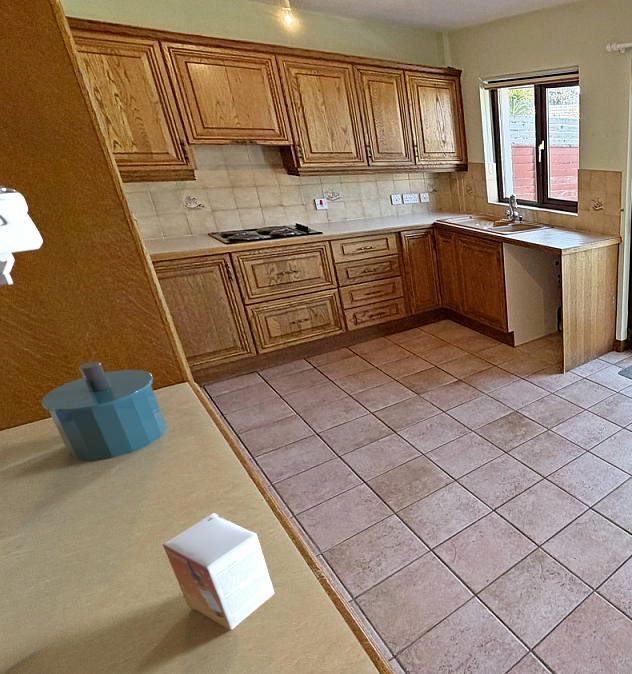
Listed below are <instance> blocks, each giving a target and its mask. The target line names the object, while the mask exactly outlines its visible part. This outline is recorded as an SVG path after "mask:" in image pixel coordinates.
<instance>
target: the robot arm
mask: <svg viewBox="0 0 632 674" xmlns="http://www.w3.org/2000/svg"><path fill="white" fill-rule="evenodd" d="M28 212H29V207H28V205H27V202H26V200H25V197H24V196H23V194H21V193H20V192H19V191H17V190H15V189H14V188H10V187H5V186H4V185H0V287H3V286H4V287H5V286H10V285H14V281H13V278H12V276H11V274H10V273H11V271H12V268H13V266H14V264H15V261H16V260H15V258H14V256H13V253H19V252H20V253H21V252H27V251H34V250H35V251H36V250H39V249H40V248H41V247H42V245H43V242H44V241H43V238H42V236H41V233H40V231H39V230H38V228H37V227H36V225H35V223H34V222H33V221H32V219H31V217H30V216H29V214H28Z"/></svg>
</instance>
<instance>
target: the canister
mask: <svg viewBox="0 0 632 674" xmlns="http://www.w3.org/2000/svg"><path fill="white" fill-rule="evenodd" d="M48 412H49V415H50V416H51V419H52V420H53V422H54V424H55V427H56V428H57V431H58V433H59V435H60V437H61V439H62V441H63V443H64V445H65V448H66V449H67V451H68V453H69V454H70V457H72V458H75V459H76V460H78V461H90V462H93V461H95V462H96V461H102V460H108V459H113V458H118V457H121V456H123V455H128V454H131V453H133V452H136V451H138V450H141V449H142V448H145V447H146V446H150V445H151V444H152V443H153V442H155V441H157V440H158V439H160V438H161V437H162V436H163V435H164V434H165V432H166V431H167V430H168V426H167V422H166V419H165V417H164V414H163V412H162V410H161V406H160V404H159V401H158V399H157V396H156V393H155V391H154V388H153V386H152V384H151V385H150V386H149V387H148V388H147V389H146V390H144V391H143V392H141V393H139V394H137V395H135V396H133V397H131V398H128V399H126V400H123V401H120V402H118V403H114V404H111V405H108V406H104V407H100V408H95V409H90V410H84V411H76V412H54V411H49V410H48Z"/></svg>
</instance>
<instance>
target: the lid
mask: <svg viewBox="0 0 632 674" xmlns="http://www.w3.org/2000/svg"><path fill="white" fill-rule="evenodd" d="M78 369H79V371H80V373H81V376H82V377H81V378H78V379H75V380H72V381H69V382H68V383H64V384H62V385H60V386H57V387H56V388H54V389H52V390H51V391H49V392H48V393H47V394H45V395H44V396H43V397H42V400H41V405H42V407H43V408H44V409H45V410H47V411H48V412H49V411H54V412H76V411H84V410H90V409H95V408H100V407H104V406H108V405H111V404H114V403H118V402H120V401H123V400H126V399H128V398H131V397H133V396H135V395H137V394H139V393H141V392H143V391H144V390H146V389H147V388H148V387H149V386H150V385H152V384H153V382H154V377H153V375H152V373H150V372H149V371H145V370H141V369H140V370H139V369H121V370H112V371H105V370H104V367H103V365H102V363H101V361H90V362H86V363H83V364H80V365H79V367H78Z"/></svg>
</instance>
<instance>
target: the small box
mask: <svg viewBox="0 0 632 674" xmlns="http://www.w3.org/2000/svg"><path fill="white" fill-rule="evenodd" d="M162 547H163V549H164V551H165V554H166V555H167V556H166V557H167V558H168V561H169V563H170V566H171V569H172V570H173V573H174V576H175V578H176V580H177V583H178V585H179V587H180V591H181V593H182V595H183V597H184V601H185V602H186V605H187V606H188V607H189V608H191V609H193V610H196V611H197V612H199V613H200V614H202V615H204V616H206V617H207V618H209V619H211V620H212V621H213V622H215V623H217V624H219V625H220V626H222V627H224V628H225V629H227V630H229V631H232V630H233V629H235V628H236V627H237V626H238V625H240V623H242V622H243V621H244V620H245V619H247V618H248V617H249V616H250V615H252V613H253V612H255V611H256V610H257V609H258V608H260V607H261V606H262V605H263V604H264V603H265V602H266V601H268V600H269V599H270V598H272V596H274V594H275V590H274V586H273V583H272V580H271V577H270V574H269V571H268V567H267V564H266V560H265V556H264V553H263V551H262V546H261V544H260V540H259V538H258V534H257V533H256V532H253V531H251V530H249V529H246V528H244V527H242V526H240V525H238V524H236V523H233V522H232V521H229V520H227V519H225V518H223V517H222V516H220V515H219V514H217V513H215V512H213V513H211V514H209V515H208V516H206V517H204V518H202V519H201V520H200V521H198V522H196V523H195V524H193V525H192V526H189V527H187V529H185V530H183V531H182V532H180V533H179V534H177V535H175V536H174V537H172V538H170V539H169V540H167V541H166V542H164V543H163V544H162Z"/></svg>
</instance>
